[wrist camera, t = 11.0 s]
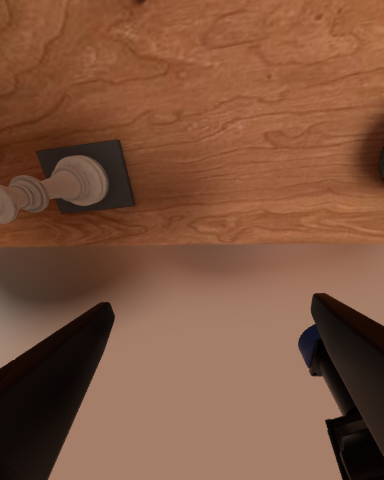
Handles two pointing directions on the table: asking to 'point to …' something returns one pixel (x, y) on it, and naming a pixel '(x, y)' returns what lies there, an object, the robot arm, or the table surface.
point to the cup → (382, 164)
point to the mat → (111, 162)
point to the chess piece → (55, 187)
